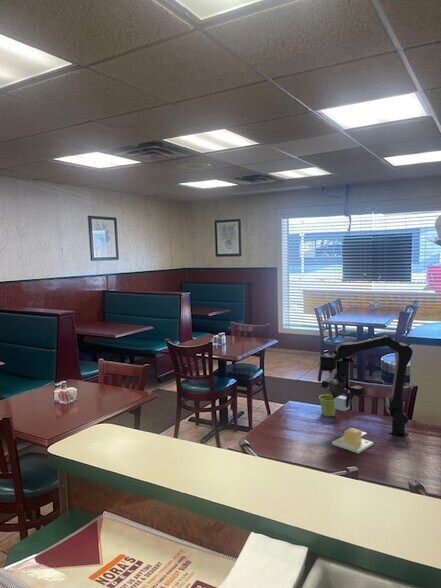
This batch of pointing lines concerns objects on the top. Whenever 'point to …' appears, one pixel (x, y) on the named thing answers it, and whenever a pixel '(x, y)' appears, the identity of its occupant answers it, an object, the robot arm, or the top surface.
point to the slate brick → (340, 403)
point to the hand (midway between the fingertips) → (341, 406)
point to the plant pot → (327, 405)
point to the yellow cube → (352, 436)
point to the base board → (357, 448)
